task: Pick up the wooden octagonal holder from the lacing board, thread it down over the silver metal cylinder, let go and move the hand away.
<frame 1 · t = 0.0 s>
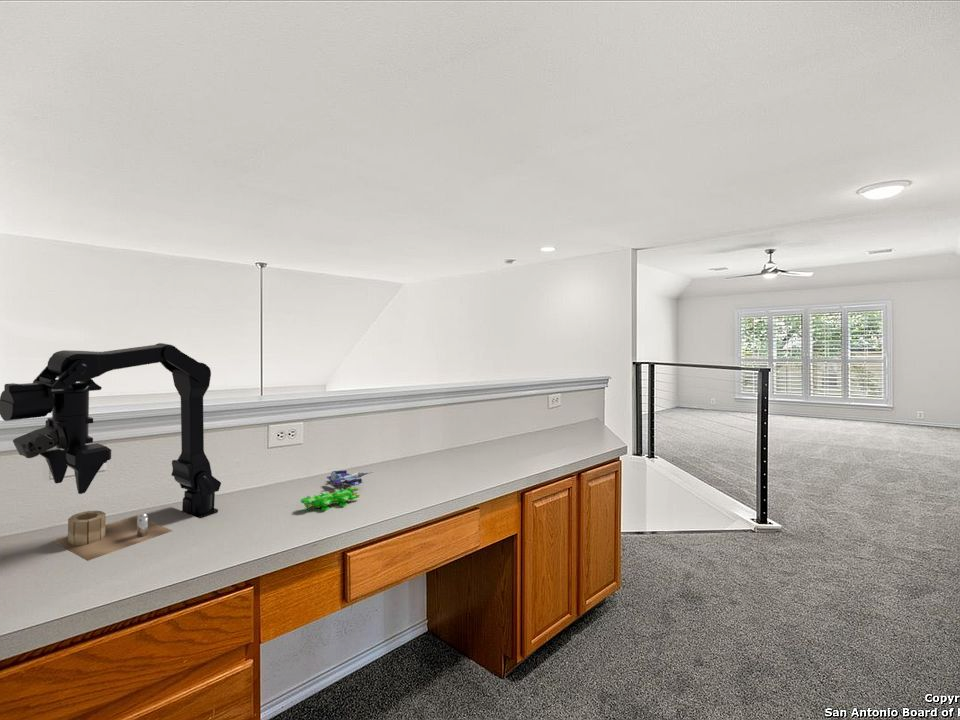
hand: (69, 488, 101), 15 cm above the worktop, fingers open, 9 cm apart
crocodile figurine: (330, 506, 141), on the worktop
wooden octagonal holder: (86, 538, 108), point 1 cm above the worktop, touching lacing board
toy airplane: (349, 485, 157), on the worktop
silver metal cylinder: (142, 534, 111), resting on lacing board
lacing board: (114, 542, 110), on the worktop
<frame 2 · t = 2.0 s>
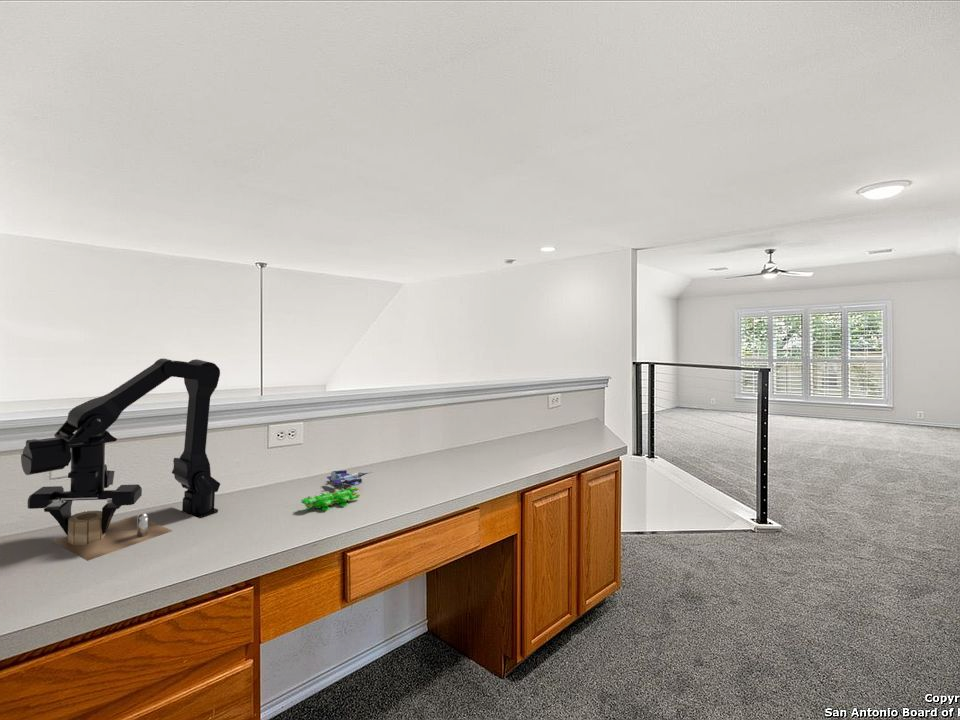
hand: (86, 533, 107), 3 cm above the worktop, fingers closed on wooden octagonal holder, 6 cm apart
wooden octagonal holder: (86, 538, 108), point 1 cm above the worktop, touching gripper, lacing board
everything else where it was.
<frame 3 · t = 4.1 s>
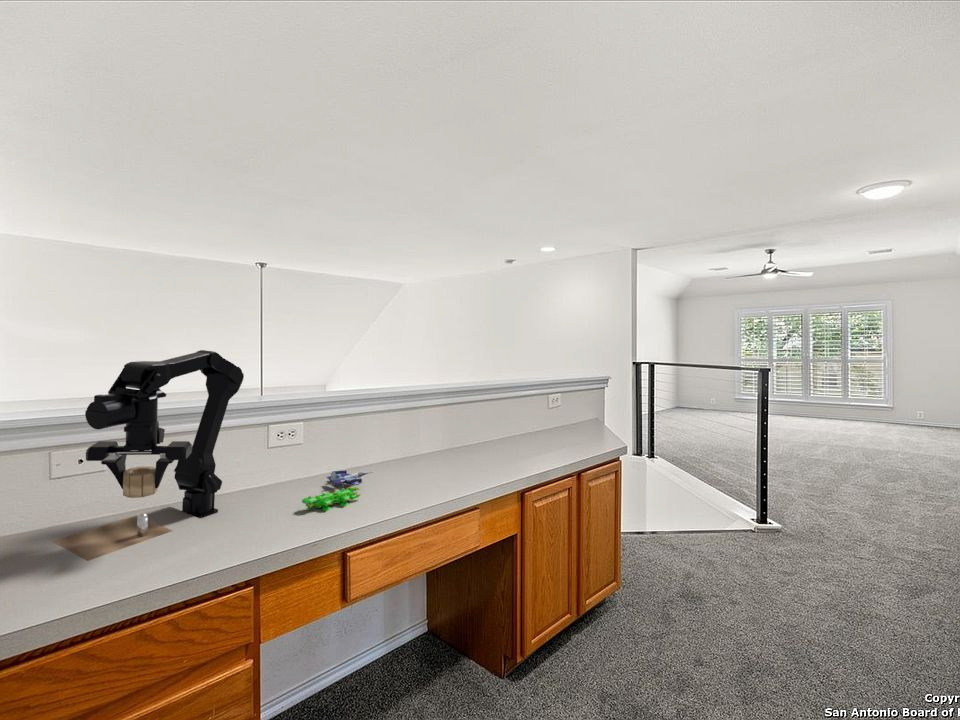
hand: (140, 488, 110), 12 cm above the worktop, fingers closed on wooden octagonal holder, 6 cm apart
wooden octagonal holder: (140, 492, 110), point 11 cm above the worktop, touching gripper
everything else where it was.
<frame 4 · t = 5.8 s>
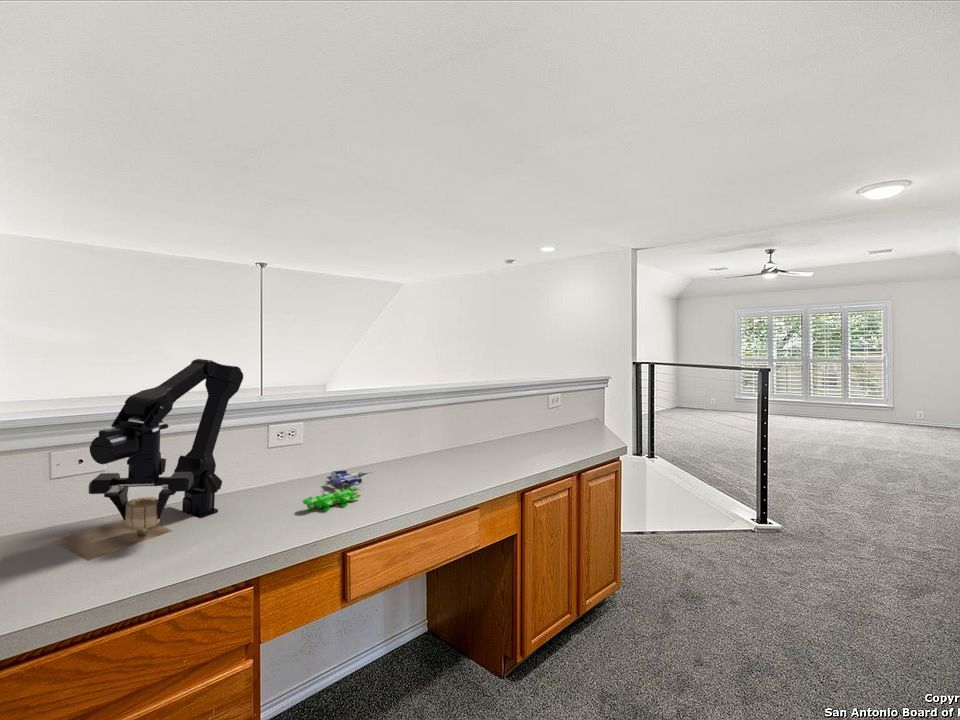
hand: (142, 519, 111), 5 cm above the worktop, fingers closed on wooden octagonal holder, 6 cm apart
wooden octagonal holder: (142, 523, 111), point 4 cm above the worktop, touching gripper
everything else where it was.
when the fingers open (4 cm above the worktop, at t = 7.2 s): wooden octagonal holder drops 2 cm, resting on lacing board.
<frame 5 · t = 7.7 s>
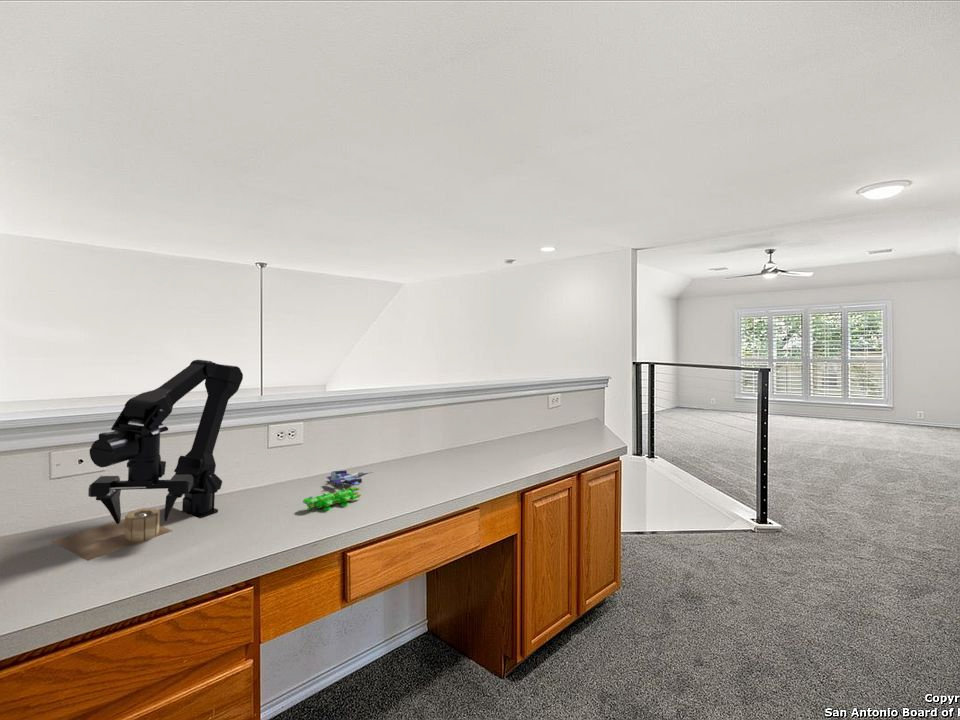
hand: (142, 522, 111), 4 cm above the worktop, fingers open, 9 cm apart
wooden octagonal holder: (142, 534, 111), point 1 cm above the worktop, touching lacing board
everything else where it was.
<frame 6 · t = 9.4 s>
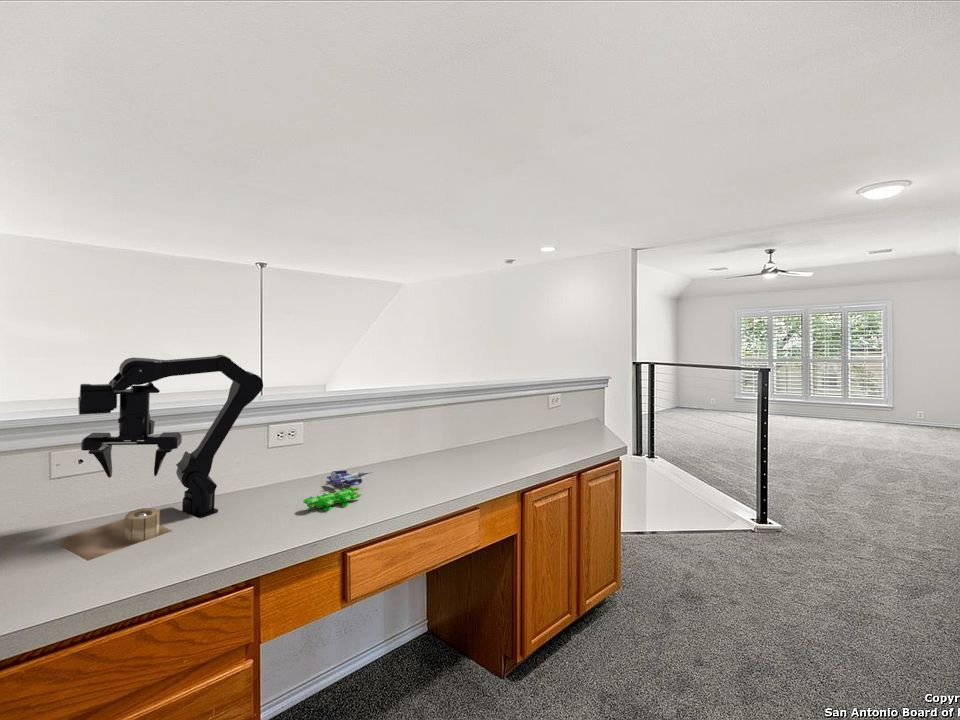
hand: (133, 476, 117), 12 cm above the worktop, fingers open, 9 cm apart
nothing on the worktop moved.
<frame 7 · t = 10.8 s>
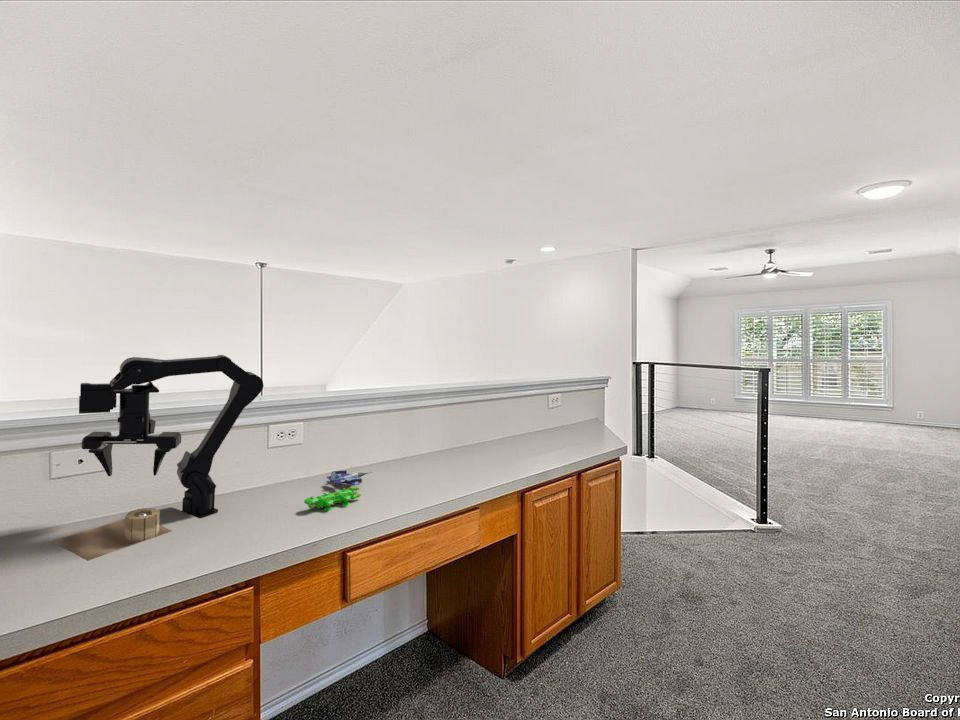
hand: (132, 475, 118), 12 cm above the worktop, fingers open, 9 cm apart
nothing on the worktop moved.
at the end: wooden octagonal holder 0.0 cm from the silver metal cylinder (horizontally); wooden octagonal holder point 1.5 cm above the worktop; the gripper is holding nothing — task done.
